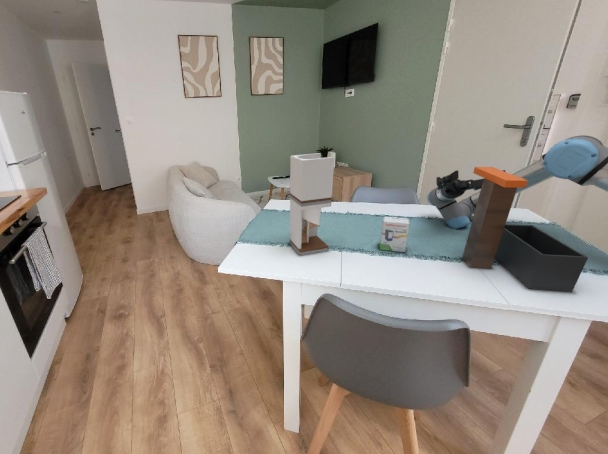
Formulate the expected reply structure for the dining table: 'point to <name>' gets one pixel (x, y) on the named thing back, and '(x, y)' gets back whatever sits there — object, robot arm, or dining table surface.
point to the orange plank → (500, 177)
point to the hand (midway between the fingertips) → (480, 174)
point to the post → (488, 224)
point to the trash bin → (539, 259)
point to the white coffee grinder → (309, 200)
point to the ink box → (394, 234)
